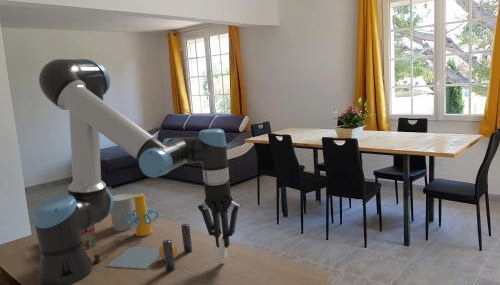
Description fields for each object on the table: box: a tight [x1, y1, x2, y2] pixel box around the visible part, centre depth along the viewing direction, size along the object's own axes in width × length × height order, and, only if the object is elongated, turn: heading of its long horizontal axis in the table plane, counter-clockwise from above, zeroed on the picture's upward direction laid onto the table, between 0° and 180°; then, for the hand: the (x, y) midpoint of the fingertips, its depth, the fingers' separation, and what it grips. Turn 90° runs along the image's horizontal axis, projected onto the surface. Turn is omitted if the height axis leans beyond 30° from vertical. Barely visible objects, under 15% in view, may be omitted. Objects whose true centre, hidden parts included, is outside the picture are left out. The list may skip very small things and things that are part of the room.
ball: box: [158, 242, 178, 261], centre depth 126 cm, size 6×6×6 cm
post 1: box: [162, 239, 176, 273], centre depth 119 cm, size 3×3×9 cm
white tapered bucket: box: [110, 192, 136, 232], centre depth 158 cm, size 10×10×12 cm
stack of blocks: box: [81, 224, 98, 250], centre depth 147 cm, size 21×6×12 cm, turn 44°
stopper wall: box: [93, 242, 118, 263], centre depth 133 cm, size 2×9×2 cm, turn 164°
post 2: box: [181, 223, 193, 254], centre depth 130 cm, size 3×3×9 cm
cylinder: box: [125, 193, 159, 237], centre depth 149 cm, size 12×10×15 cm
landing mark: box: [106, 246, 161, 270], centre depth 129 cm, size 14×14×1 cm
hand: (224, 256), depth 121 cm, fingers closed
